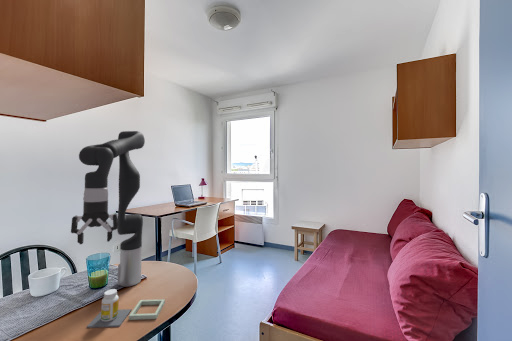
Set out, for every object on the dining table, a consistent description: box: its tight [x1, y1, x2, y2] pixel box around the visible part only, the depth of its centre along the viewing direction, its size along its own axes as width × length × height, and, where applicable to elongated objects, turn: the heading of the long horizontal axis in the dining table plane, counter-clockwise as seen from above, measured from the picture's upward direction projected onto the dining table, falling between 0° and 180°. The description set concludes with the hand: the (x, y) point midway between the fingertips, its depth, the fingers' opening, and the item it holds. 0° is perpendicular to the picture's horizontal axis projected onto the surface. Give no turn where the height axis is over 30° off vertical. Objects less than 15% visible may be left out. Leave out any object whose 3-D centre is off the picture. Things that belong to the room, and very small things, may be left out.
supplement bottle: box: [100, 288, 120, 322], centre depth 83 cm, size 5×5×10 cm
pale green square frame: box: [128, 298, 166, 321], centre depth 88 cm, size 10×10×2 cm
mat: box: [86, 308, 132, 329], centre depth 83 cm, size 11×9×1 cm
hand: (95, 242), depth 84 cm, fingers open, 8 cm apart
